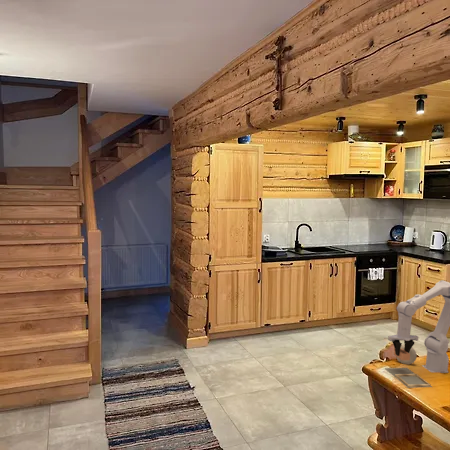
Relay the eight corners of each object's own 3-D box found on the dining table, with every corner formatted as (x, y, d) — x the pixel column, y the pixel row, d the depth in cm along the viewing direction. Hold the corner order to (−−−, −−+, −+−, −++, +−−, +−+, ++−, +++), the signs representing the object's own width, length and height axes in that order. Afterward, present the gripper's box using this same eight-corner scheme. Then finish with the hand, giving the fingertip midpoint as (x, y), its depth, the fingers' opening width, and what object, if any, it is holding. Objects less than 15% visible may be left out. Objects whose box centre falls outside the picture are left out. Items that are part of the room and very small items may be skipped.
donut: (415, 365, 219) (417, 345, 218) (415, 367, 216) (417, 348, 215) (394, 360, 223) (396, 342, 222) (394, 363, 220) (395, 344, 219)
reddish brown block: (393, 354, 211) (394, 348, 211) (401, 354, 212) (401, 348, 211) (401, 360, 204) (402, 353, 204) (409, 360, 205) (410, 353, 204)
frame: (416, 375, 205) (416, 373, 205) (430, 386, 194) (430, 384, 194) (394, 376, 203) (394, 374, 203) (408, 387, 193) (408, 385, 192)
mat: (406, 369, 213) (407, 367, 213) (432, 388, 194) (432, 386, 194) (384, 369, 211) (384, 368, 211) (407, 389, 192) (407, 387, 192)
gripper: (394, 330, 201) (392, 358, 203) (423, 330, 204) (420, 358, 205) (386, 325, 208) (384, 352, 210) (414, 325, 211) (411, 352, 212)
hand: (401, 354), depth 208 cm, fingers closed on reddish brown block, 4 cm apart
